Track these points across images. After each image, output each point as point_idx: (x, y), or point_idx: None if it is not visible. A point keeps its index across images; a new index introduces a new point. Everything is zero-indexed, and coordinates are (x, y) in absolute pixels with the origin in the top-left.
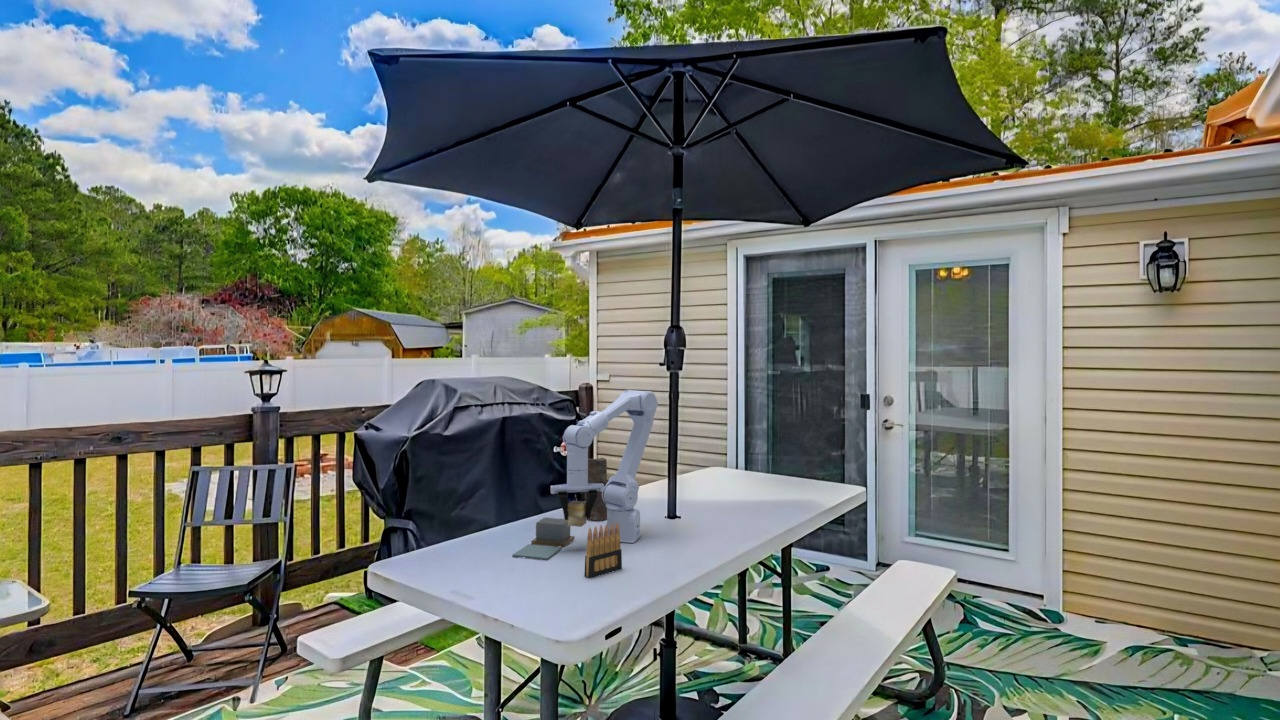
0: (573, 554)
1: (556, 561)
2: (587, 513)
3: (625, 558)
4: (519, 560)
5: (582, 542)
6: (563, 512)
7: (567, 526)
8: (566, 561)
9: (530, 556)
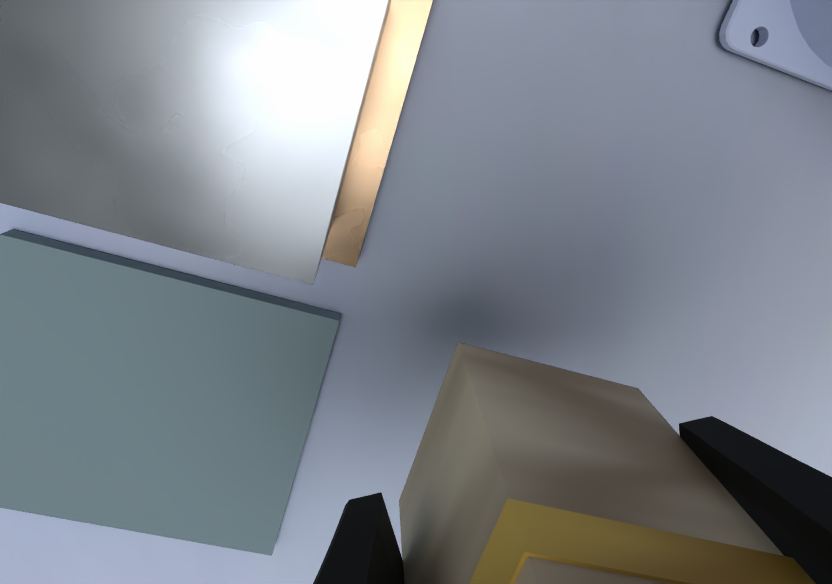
0: None
1: None
2: None
3: None
4: (78, 550)
5: (515, 89)
6: (323, 564)
7: (363, 98)
8: None
9: (138, 531)
